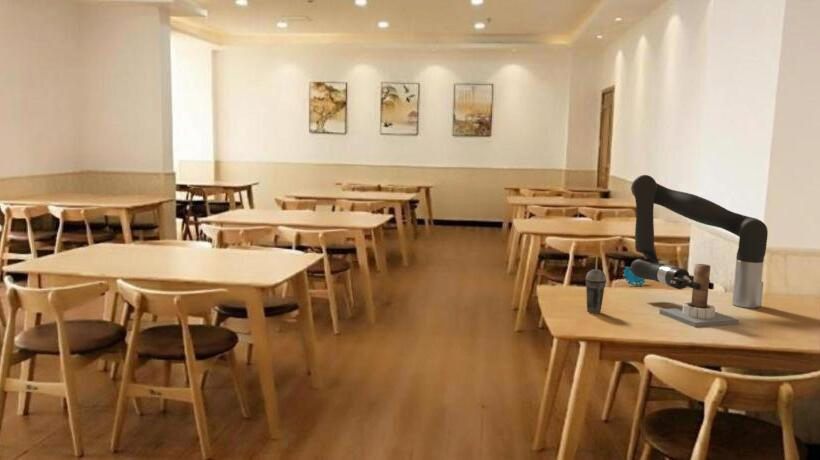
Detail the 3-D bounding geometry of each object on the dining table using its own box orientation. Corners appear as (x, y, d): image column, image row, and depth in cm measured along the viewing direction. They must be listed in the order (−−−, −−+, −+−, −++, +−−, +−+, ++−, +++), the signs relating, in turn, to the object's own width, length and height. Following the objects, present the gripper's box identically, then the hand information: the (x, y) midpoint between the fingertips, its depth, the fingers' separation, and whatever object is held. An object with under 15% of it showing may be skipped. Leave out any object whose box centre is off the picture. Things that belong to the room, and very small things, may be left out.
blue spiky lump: (627, 283, 285) (622, 263, 291) (620, 290, 289) (615, 271, 295) (650, 286, 287) (645, 267, 293) (643, 293, 291) (638, 274, 297)
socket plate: (700, 311, 246) (702, 298, 246) (738, 324, 229) (739, 311, 229) (659, 313, 241) (660, 301, 240) (694, 327, 224) (695, 313, 223)
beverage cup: (605, 311, 241) (609, 256, 239) (602, 315, 235) (606, 259, 232) (585, 308, 244) (588, 254, 242) (581, 313, 238) (584, 257, 235)
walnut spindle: (699, 308, 238) (703, 263, 236) (709, 312, 233) (713, 266, 231) (687, 309, 236) (691, 264, 234) (697, 312, 232) (701, 266, 229)
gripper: (657, 267, 244) (690, 276, 228) (690, 266, 249) (724, 275, 233) (655, 287, 245) (688, 298, 229) (688, 286, 250) (722, 296, 234)
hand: (706, 286), depth 231 cm, fingers closed on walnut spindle, 4 cm apart
